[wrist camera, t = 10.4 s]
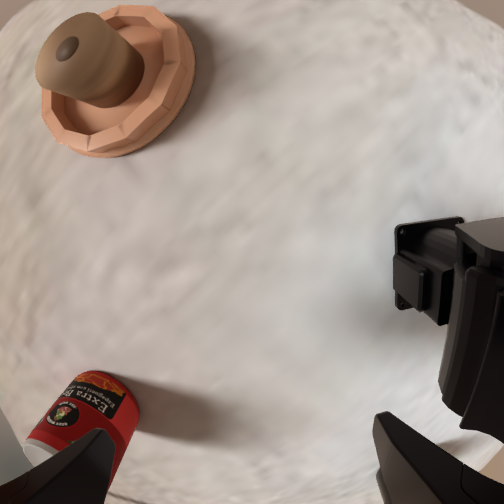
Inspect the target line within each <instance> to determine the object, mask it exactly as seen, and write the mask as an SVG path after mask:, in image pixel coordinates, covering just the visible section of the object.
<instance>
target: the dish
mask: <svg viewBox="0 0 504 504" xmlns="http://www.w3.org/2000/svg"><path fill="white" fill-rule="evenodd" d="M99 16H100V17H101V18H102V19H104V20H105V21H106V22H107V23H108V24H109V25H110V26H111V27H112V28H114V29H115V30H116V31H117V32H118V33H119V34H120V35H121V36H122V37H123V38H124V39H125V40H127V41H128V42H129V43H130V44H131V45H132V46H133V47H134V48H135V49H136V50H137V51H138V52H139V53H140V54H141V55H142V57H143V60H144V64H145V70H144V75H143V79H142V81H141V83H140V85H139V87H138V88H137V90H136V91H135V92H134V94H133V95H132V96H131V97H130V98H128V99H127V100H126V101H125V102H123V103H121V104H120V105H118V106H115V107H112V108H104V109H103V108H98V107H95V106H93V105H90V104H87V103H85V102H82V101H79V100H76V99H74V98H71V97H68V96H65V95H62V94H59V93H56V92H53V91H50V90H47V89H45V88H43V87H42V118H43V120H44V122H45V123H46V125H47V127H48V128H49V130H50V131H51V133H52V135H53V136H54V138H55V139H56V141H57V142H58V143H60V144H64V145H67V146H68V147H69V148H71V149H72V150H74V151H75V152H77V153H80V154H82V155H85V156H90V157H98V158H111V157H118V156H122V155H126V154H128V153H131V152H134V151H136V150H138V149H140V148H142V147H144V146H145V145H147V144H148V143H150V142H151V141H153V140H154V139H155V138H156V137H157V136H159V135H160V134H161V133H162V132H163V131H164V130H165V129H166V128H167V127H168V126H169V125H170V124H171V123H172V121H173V120H174V119H175V118H176V117H177V115H178V114H179V112H180V111H181V109H182V107H183V106H184V104H185V102H186V100H187V98H188V96H189V93H190V91H191V88H192V85H193V81H194V77H195V67H196V63H195V54H194V49H193V46H192V44H191V41H190V39H189V37H188V36H187V34H186V32H185V31H184V29H183V28H182V27H181V26H180V25H179V24H178V23H177V22H176V21H174V20H173V19H171V18H169V17H167V16H165V15H163V14H162V13H161V12H160V11H159V10H157V9H156V8H155V7H153V6H138V5H119V6H117V7H114V8H112V9H110V10H107V11H105V12H103V13H101V14H99Z"/></svg>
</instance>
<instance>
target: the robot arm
mask: <svg viewBox="0 0 504 504" xmlns="http://www.w3.org/2000/svg"><path fill="white" fill-rule="evenodd" d="M458 221H459V224H458ZM401 229H403V233H402V234H401V235H400V230H401ZM394 235H395V255H394V257H393V289H394V290H395V306H396V307H397V308H398V309H399V310H405V309H409V308H413V307H414V308H415V309H416V310H417V311H418V312H424V313H425V314H427V315H428V316H429V317H430V318H431V319H432V320H433V321H434V322H435V323H436V324H437V325H439V326H442V325H445V324H447V325H448V330H447V336H446V342H445V347H444V352H443V357H442V362H441V366H440V371H439V378H438V383H439V386H440V389H441V393H442V394H443V396H442V401H443V402H444V403H445V404H446V406H447V407H448V408H449V409H451V410H452V411H453V412H455V413H456V414H458V415H459V416H461V417H463V418H462V420H461V423H460V425H459V427H460V428H461V429H467V430H477V431H480V432H483V433H486V434H489V435H491V436H493V437H495V438H496V439H498V440H499V441H501V442H502V443H504V217H501V218H494V219H488V220H481V221H475V222H468V223H464V220H463V218H462V217H458V216H456V217H449V218H442V219H434V220H427V221H420V222H413V223H406V224H399V225H397V226H396V228H395V231H394ZM402 301H403V304H402V305H400V303H401V302H402ZM373 438H374V442H375V446H376V451H377V455H378V459H379V464H380V468H381V472H382V475H383V478H384V481H385V484H386V486H387V489H388V492H389V494H390V497H391V500H392V503H393V504H504V484H501V483H498V482H497V481H494V480H492V479H490V478H488V477H486V476H484V475H482V474H480V473H479V472H477V471H475V470H474V469H472V468H470V467H469V466H467V465H466V464H463V463H462V462H461V461H459V460H458V459H456V458H455V457H453V456H452V455H450V454H449V453H447V452H446V451H444V450H443V449H441V448H440V447H438V446H437V445H435V444H434V443H433V442H431V441H430V440H428V439H427V438H425V437H424V436H422V435H421V434H420V433H418V432H417V431H415V430H414V429H412V428H411V427H410V426H408V425H407V424H405V423H404V422H403V421H401V420H400V419H398V418H397V417H396V416H394V415H393V414H392V413H390V412H388V411H385V412H382V413H378V414H376V415H375V418H374V424H373ZM115 450H116V446H115V443H114V441H113V440H112V438H111V437H110V435H109V434H108V432H107V431H106V430H105V429H101V428H94V429H92V430H91V431H89V432H88V433H87V434H85V435H84V436H82V437H81V438H79V439H78V440H76V441H75V442H73V443H72V444H70V445H69V446H67V447H66V448H64V449H63V450H61V451H59V452H58V453H56V454H55V455H53V456H52V457H50V458H49V459H47V460H45V461H44V462H42V463H41V464H39V465H37V466H36V467H34V468H33V469H31V470H30V471H28V472H26V473H24V474H23V475H21V476H19V477H18V478H16V479H14V480H12V481H10V482H8V483H6V484H3V485H1V486H0V504H104V501H105V497H106V494H107V490H108V487H109V483H110V478H111V473H112V467H113V461H114V456H115Z"/></svg>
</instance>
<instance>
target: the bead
mask: <svg viewBox="0 0 504 504" xmlns="http://www.w3.org/2000/svg"><path fill="white" fill-rule="evenodd" d="M144 70H145V64H144V60H143V57H142V55H141V54H140V53H139V52H138V51H137V50H136V49H135V48H134V47H133V46H132V45H131V44H130V43H129V42H128V41H127V40H125V39H124V38H123V37H122V36H121V35H120V34H119V33H118V32H117V31H116V30H115V29H114V28H112V27H111V26H110V25H109V24H108V23H107V22H106V21H105V20H104V19H102V18H101V17H100V16H99V15H97V14H95V13H90V12H87V13H81V14H78V15H75V16H73V17H71V18H69V19H68V20H66V21H65V22H63V23H62V24H61V25H59V26H58V27H57V28H56V29H55V30H54V31H53V32H52V33H51V35H50V36H49V37H48V38H47V40H46V41H45V43H44V45H43V46H42V48H41V50H40V53H39V55H38V58H37V62H36V68H35V73H36V79H37V81H38V83H39V85H40V86H41V87H43V88H45V89H47V90H50V91H53V92H56V93H59V94H62V95H65V96H68V97H71V98H74V99H76V100H79V101H82V102H85V103H87V104H90V105H93V106H95V107H98V108H103V109H104V108H112V107H115V106H118V105H120V104H121V103H123V102H125V101H126V100H127V99H128V98H130V97H131V96H132V95H133V94H134V92H135V91H136V90H137V88H138V87H139V85H140V83H141V81H142V79H143V75H144Z"/></svg>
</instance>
